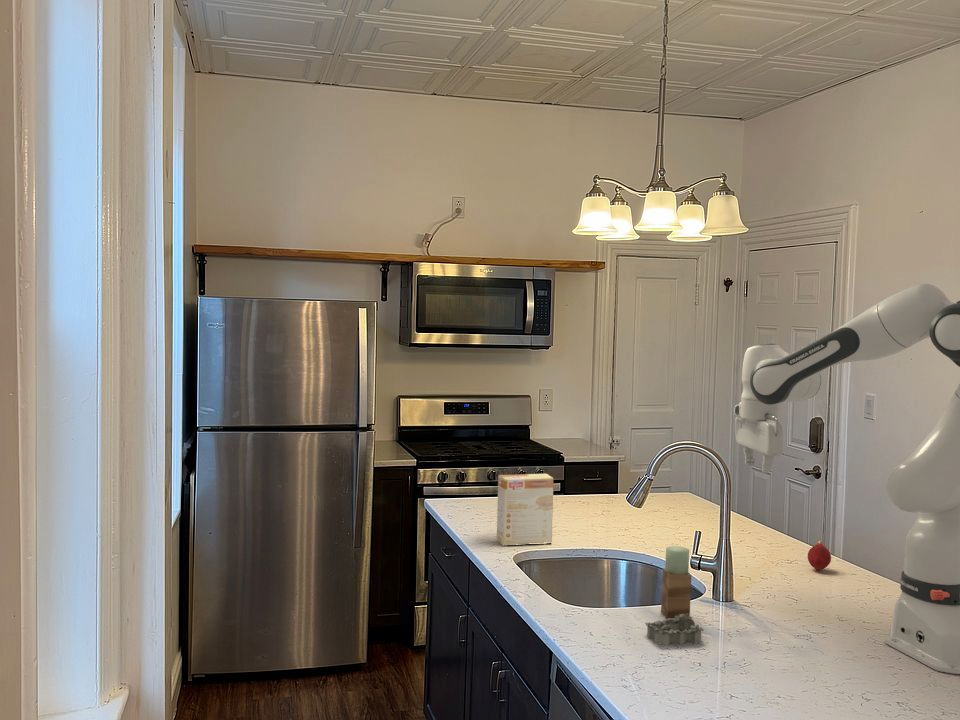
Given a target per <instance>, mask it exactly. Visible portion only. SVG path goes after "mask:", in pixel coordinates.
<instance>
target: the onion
mask: <svg viewBox="0 0 960 720" xmlns="http://www.w3.org/2000/svg"><path fill="white" fill-rule="evenodd" d="M829 550H830V549H828V548H827V547H826V546H825V545H824V544H823V542H822V540H819V541H817V543H816V544H815V545H813V546H812V547H810V549H809V550H808V552H807V561H808V563H809V565H810V566H811V567H812V568H813V569H815V570H816V571H817V572H821V571H822V570H824V569H826V568H827V567H828V566H829V565H830V564H831V561H832V555H831V551H829Z"/></svg>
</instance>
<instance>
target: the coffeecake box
mask: <svg viewBox="0 0 960 720" xmlns="http://www.w3.org/2000/svg"><path fill="white" fill-rule="evenodd" d="M497 481H498V482H497V512H496V514H497V516H496V518H497V519H496V541H497V540H498V541H499V542H500V543H501V544H502V545H516V544H518V545H519V544H529V543H544V542H552V543H553V516H554V515H553V511H554V508H553V507H554V477H553V476H551V475H549V474H548V473H527V474H526V473H525V474H524V473H523V474H520V473H519V474H498V477H497ZM498 541H497V542H498ZM499 542H498V543H499ZM500 543H499V544H500ZM501 544H500V545H501ZM502 545H501V546H502Z"/></svg>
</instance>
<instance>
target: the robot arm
mask: <svg viewBox="0 0 960 720" xmlns="http://www.w3.org/2000/svg"><path fill="white" fill-rule="evenodd" d="M928 338H930V340H931V343H932V344H933V346H934V347H935V348H936V349H937V350H938V351H939V352H940V353H941V354H942V355H944V356H945V357H947V358H949V359H950V361H952V362H953V363H954V364H955V365H956V366H957V367H958V368H960V300H958V301H956V303H955V302H953V301H951V300H950V299H949V298H948V297H947V296H946V294H945V293H944V291H942V290H941V289H940V288H939V287H937V286H935V285H934V284H930V283H920V284H916V285H913V286H910V287H908V288H906V289H903V290H901V291H899V292H897V293H894V294H892V295H889V296H888V297H886V298H885V299H883V300H881V301H879V302H877V303H876V304H874V305H872V306H871V307H869V308H868V309H866V310H864V311H863V312H862V313H859V315H857V316H855V317H854V318H852V319H851V320H849V321H848V322H846V323H844V324H843V325H841V326H840V327H837V328H836V329H835V330H834V329H833V331H832V332H830V333H828V334H826V335H824V336H823V337H822V336H821V337H820V338H818V339H816V340H814V341H812V342H810V343H808V344H806V345H804V346H803V347H801V348H799V349H797V350H795V351H793V352H791V353H789V352H787V351H786V350H784V349H782V347H781V346H780V345H779V344H778V343H777V344H776V343H761V344H755V345H751V346H749V347H748V348H747V349H746V351H745V352H744V355H743V361H742V369H741V371H742V372H741V382H742V388H743V389H742V393H741V395H740V402H739V403H738V404H736V405H735V406H734V408H733V414H734V415H735V420H734V423H735V424H734V431H735V432H734V433H735V434H734V437H735V442H736V443H737V444H738V445H740V446H742V447H743V448H742V450H743V454H744V458H745V459H744V464H745V465H746V466H748V467H749V466H753V467H754V466H755V458H754V451H755V452H758V453H761V454H762V458H763V459H762V464H760V472H762V473H763V474H770V473H771V466H772V463H773V461H774V458H775V457H780V456H782V454H783V453H784V431H783V426H782V424H781V423H780V421H779V420H780V408H781V407H780V403H790V402H800V401H806V400H809V399H812V398H813V397H814V396H816V395H817V394H818V392H819V391H820V388H821V385H822V376H821V372H823V371H825V370H827V369H830V368H832V367H834V366H836V365H837V366H838V365H841V364H846V363H850V362H851V363H852V362H860V361H863V362H864V361H873V360H879V359H882V358H883V359H884V358H887V357H889V356H893V355H896V354H898V353H900V352H902V351H904V350H906V349H908V348H911V347H912V346H913V345H915V344H917V343H919V342H921V341H923V340H926V339H928ZM885 484H886V485H885V487H886V488H885V490H886V493H887V495H888V498H889V500H890V501H891V503H892V504H893V505H894V506H896V507H897V508H898V509H900V510H902V511H903V512H908V513H914V514H917V517H916V520H915V522H914V523H913V525H912V526H911V528H909V530H908V531H907V533H906V537H905V545H904V563H903V571H901V576H900V578H899V579H900V581H899V582H900V587H899V588H900V590H901V593H900V596H899V598H898V599H897V601H896V602H895V603H894V607H893V613H892V618H891V619H892V620H891V627H890V633H889V635H887V636H885V639H884V643H885V644H886V645H888V646H890V647H892V648H894V649H895V650H897V651H899V652H901V653H903V654H904V655H907V656H909V657H911V658H913V659H914V660H916V661H918V662H920V663H922V664H924V665H926V666H928V667H929V668H930V669H931V668H932V669H933V670H935V671H937V672H941V673H947V674H954V675H955V674H956V675H960V383H959V384H958V386H957V388H956V390H955V391H954V393H953V395H952V397H951V398H950V400H949V402H948V404H947V406H946V408H945V409H944V411H943V413H942V415H941V417H940V418H939V420H938V421H937V423H936V424H935V426H934V427H933V428H932V429H931V431H930V432H929V433H928V434H927V436H926V437H924V439H923V440H922V441H921V443H919V444H918V446H916V447H915V449H914V450H913V451H912V453H911V454H910V455H909V456H908V457H907V458H906V459H905V460H903V461H902V462H901V463H900V464H898V465H897V466H895V467H894V468H893V469H891V471H890V472H889V474H888V475H887V477H886V483H885Z"/></svg>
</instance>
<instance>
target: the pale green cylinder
mask: <svg viewBox="0 0 960 720" xmlns="http://www.w3.org/2000/svg"><path fill="white" fill-rule="evenodd" d="M689 561H690V549H689V548H687V547H684V546H676V545H673V546H667V547H666V548H665V564H664V565H665V567H664V568H665V571H666V572H667V573H670V574H674V575H685V574H688V572H689V566H690V565H689V564H690V563H689Z"/></svg>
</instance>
